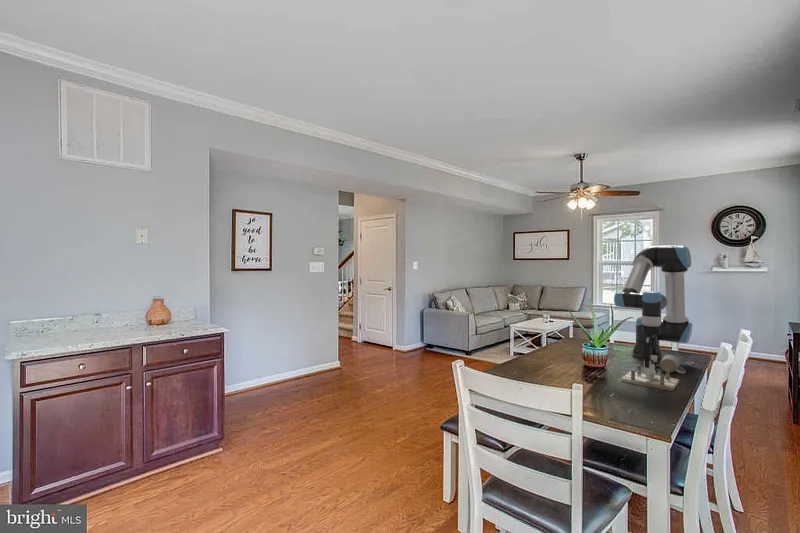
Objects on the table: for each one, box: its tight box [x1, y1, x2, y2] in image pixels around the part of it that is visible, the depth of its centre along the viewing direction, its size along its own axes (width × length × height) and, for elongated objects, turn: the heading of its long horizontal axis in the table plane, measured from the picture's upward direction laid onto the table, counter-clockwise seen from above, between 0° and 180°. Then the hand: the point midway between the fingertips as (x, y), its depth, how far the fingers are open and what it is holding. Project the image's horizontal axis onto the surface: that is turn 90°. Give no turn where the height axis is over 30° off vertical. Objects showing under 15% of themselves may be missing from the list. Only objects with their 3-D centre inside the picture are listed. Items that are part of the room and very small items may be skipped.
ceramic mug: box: [659, 354, 687, 375], centre depth 207 cm, size 11×8×8 cm
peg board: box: [621, 364, 680, 392], centre depth 190 cm, size 16×20×6 cm
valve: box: [643, 359, 661, 380], centre depth 190 cm, size 7×7×12 cm
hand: (650, 371), depth 190 cm, fingers closed on valve, 12 cm apart
